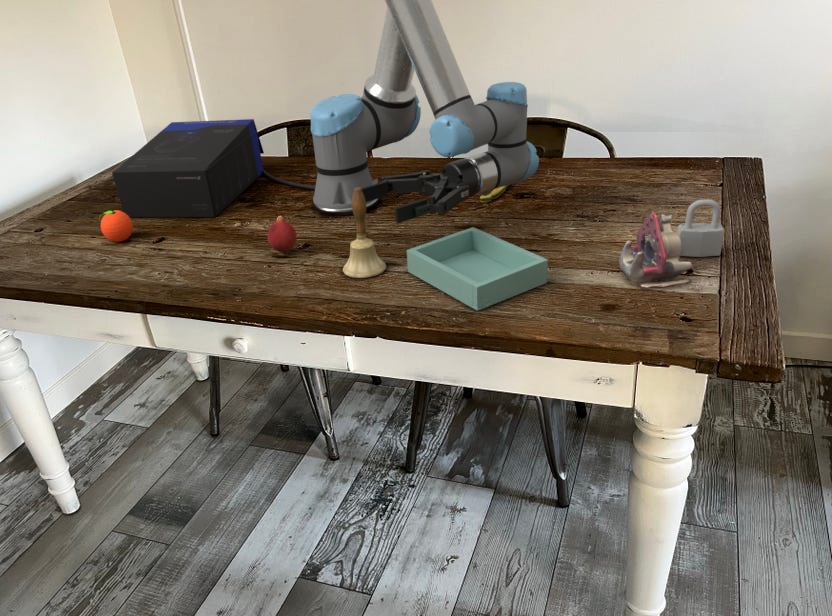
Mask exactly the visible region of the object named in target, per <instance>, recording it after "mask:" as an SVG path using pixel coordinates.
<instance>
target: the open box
mask: <svg viewBox="0 0 832 616" xmlns="http://www.w3.org/2000/svg"><path fill="white" fill-rule="evenodd" d="M406 261H407V272H408V273H410V274H411V275H413V276H414V277H417V278H418V279H421V280H422V281H424V282H425V283H427V284H429V285H430V286H432V287H434V288H436V289H437V290H440V291H441V292H443V293H445V294H446V295H449V296H450V297H452V298H453V299H456V300H458V301H459V302H460V303H462V304H465V305H466V306H468V307H470V308H472V309H473V310H476V311H477V312H478V311H481V310H483V309H486V308H488V307H491V306H493V305H495V304H498V303H500V302H503V301H506V300H509V299H511V298H513V297H515V296H518V295H519V294H523V293H525V292H527V291H530V290H532V289H534V288H537V287H540V286H543V285H545V284H548V270H549V269H548V268H549V259H547V258H546V257H543V256H541V255H538V254H536V253H533V252H532V251H529V250H527V249H524V248H522V247H520V246H518V245H516V244H513V243H510V242H509V241H506V240H504V239H502V238H499V237H497V236H494V235H492V234H490V233H488V232H485V231H483V230H481V229H478V228H476V227H473V226H471V227H469V228H466V229H463V230H461V231H458V232H454V233H452V234H448V235H446V236H443V237H440V238H437V239H434V240H432V241H429V242H426V243H423V244H420V245H417V246H414V247H412V248H408V249H406Z"/></svg>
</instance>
